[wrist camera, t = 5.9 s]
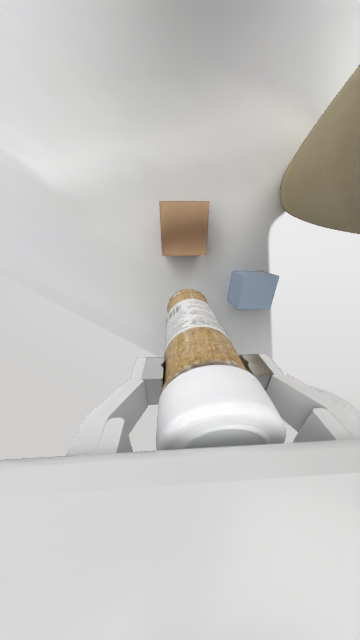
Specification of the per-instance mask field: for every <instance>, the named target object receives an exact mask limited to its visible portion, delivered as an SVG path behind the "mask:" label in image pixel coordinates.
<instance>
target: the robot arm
mask: <svg viewBox="0 0 360 640" xmlns="http://www.w3.org/2000/svg"><path fill="white" fill-rule="evenodd" d="M239 358H240V359H241V361H242V362H243V364H244V366H245V368H246V369H247V370H248V371H249V372H250V373H251V374H252V375H253V376H255V377H256V378H257V379H258V381H259V382H260V384H261V385H262V387H263V388H264V390H265V391H266V393H267V394H268V396H269V398H270V399H271V401H272V403H273V404H274V406H275V408H276V409H277V411H278V413H279V414H280V416H281V417H282V418H283V419H284V420H285V421H286V422H287V423H288V424H289V425H291V426H292V427H293V428H294V429H295V430H296V431H297V432H298V434H297V436H296V437H295V439H294V441H293V443H278V444H261V445H244V446H227V447H210V448H193V449H176V450H159V451H143V452H133V450H132V447H131V443H130V439H129V433H130V432H131V430H132V429H133V427H134V426H135V424H136V423H137V421H138V420H139V419H140V417H141V416H142V414H143V413H144V411H145V410H146V408H147V407H148V405H155V404H159V399H160V396H161V393H162V388H163V386H164V373H165V358H164V357H138V358H137V359H136V362H135V366H134V369H133V372H132V375H131V379H130V380H128V381H126V382H125V383H124V384H123V385H121V386H120V387H119V388H118V389H117V390H116V391H115V392H114V393H113V394H112V395H110V396H109V397H108V398H107V399H106V400H105V401H103V402H102V403H101V404H100V405H99V406H98V407H97V408H96V409H94V410H93V411H92V412H91V413H90V414H89V415H88V416H87V417H86V418H85V419H84V420H83V422H82V425H81V426H80V428H79V430H78V432H77V434H76V436H75V439H74V440H73V442H72V444H71V446H70V448H69V450H68V452H67V454H66V456H57V457H39V458H22V459H5V460H0V640H360V418H359V417H358V416H356V415H355V414H354V413H353V412H352V411H351V410H350V409H349V408H348V407H347V406H345V405H344V404H342V403H340V402H338V401H336V400H334V399H332V398H331V397H329V396H327V395H325V394H323V393H321V392H319V391H318V390H316V389H314V388H312V387H310V386H308V385H306V384H305V383H303V382H301V381H299V380H297V379H295V378H294V377H292V376H290V375H288V374H284V373H283V372H282V371H281V369H280V368H279V367H278V366H277V365H276V364H275V362H274V361H273V360H272V359H271V358H270V357H269V356H268V355H267V354H266V353H262V354H243V355H239Z"/></svg>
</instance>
